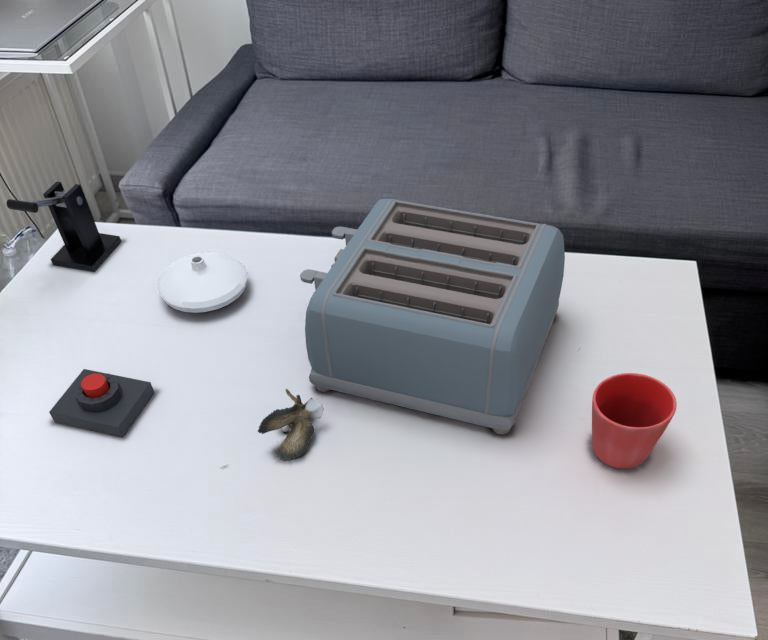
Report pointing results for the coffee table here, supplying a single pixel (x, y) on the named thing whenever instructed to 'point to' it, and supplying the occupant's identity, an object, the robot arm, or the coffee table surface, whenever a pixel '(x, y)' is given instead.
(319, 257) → the coffee table surface
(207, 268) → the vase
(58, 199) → the lever
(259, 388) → the coffee table surface
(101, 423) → the control block
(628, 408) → the flower pot
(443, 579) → the coffee table surface
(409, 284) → the toaster
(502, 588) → the coffee table surface
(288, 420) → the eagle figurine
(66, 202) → the bracket
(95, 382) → the button
